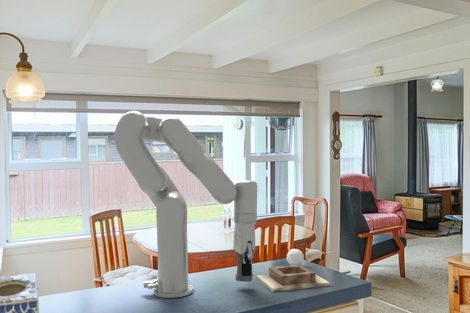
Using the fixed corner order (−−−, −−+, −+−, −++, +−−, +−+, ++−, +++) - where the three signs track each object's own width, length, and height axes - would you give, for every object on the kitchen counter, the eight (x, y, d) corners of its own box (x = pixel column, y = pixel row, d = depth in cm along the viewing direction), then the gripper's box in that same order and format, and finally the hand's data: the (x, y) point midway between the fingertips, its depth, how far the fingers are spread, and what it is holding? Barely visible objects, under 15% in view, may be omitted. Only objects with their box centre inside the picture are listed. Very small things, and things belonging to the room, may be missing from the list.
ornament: (301, 268, 163) (288, 253, 163) (291, 271, 169) (279, 256, 169) (310, 257, 167) (298, 242, 167) (300, 260, 173) (288, 246, 173)
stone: (251, 282, 139) (253, 251, 139) (234, 281, 140) (235, 250, 140) (252, 279, 142) (254, 249, 142) (236, 278, 143) (237, 248, 143)
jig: (272, 291, 136) (272, 279, 136) (256, 278, 151) (256, 267, 151) (329, 285, 141) (329, 273, 141) (308, 273, 156) (308, 262, 156)
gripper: (227, 214, 148) (226, 268, 148) (241, 221, 132) (240, 281, 132) (248, 214, 150) (247, 267, 150) (264, 221, 134) (263, 280, 134)
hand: (244, 273), depth 141 cm, fingers closed on stone, 4 cm apart
